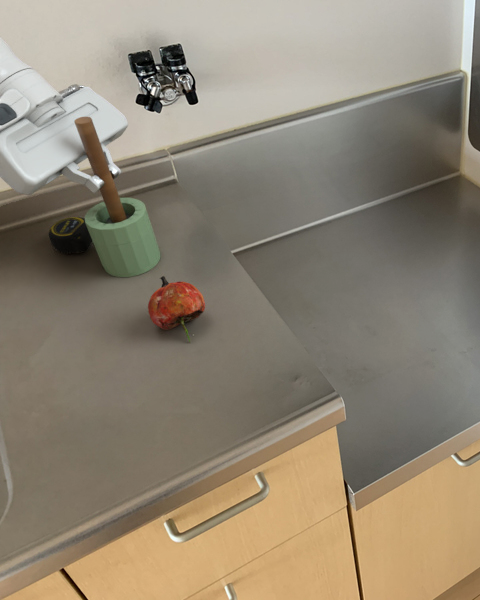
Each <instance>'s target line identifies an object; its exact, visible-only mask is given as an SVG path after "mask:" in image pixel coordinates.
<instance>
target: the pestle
mask: <svg viewBox="0 0 480 600" xmlns="http://www.w3.org/2000/svg"><path fill="white" fill-rule="evenodd" d="M74 122H75V125H76V128H77V131H78V133H79V136H80V139H81V141H82V144H83V147H84V149H85V152H86V155H87V157H88V158H87V160H88V162H89V166H90V168H91V170H92V171H91V172H92V173H93V175H95V174H96V175H97V176H99V178H100V179H102V180H103V181H104V183H105V185H104V186H103V187H102V188H101V189H100V190H99V192H100V194H101V198H102V199H103V202H104V203H105V205H106V208H107V211H108V213H109V216H110V217H109V218H108V219H107V224H114V223H118V222H122V221H124V220H126V219H128V218H130V217H131V215H129V214H127V213H125V212H124V209H123V206H122V203H121V200H120V198H121V197H120V195H119V192H118V189H117V186H116V182H115V179H114V180H113V178H112V175H111V172H110V169H109V166H108V163H107V161H106V158H105V155H104V152H103V149H102V146H101V144H100V141H99V138H98V135H97V132H96V129H95V127H94V124H93V121H92V118H91V117H80V118H77V119H76V120H75V121H74Z"/></svg>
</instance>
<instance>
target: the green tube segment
mask: <svg viewBox="0 0 480 600" xmlns="http://www.w3.org/2000/svg"><path fill="white" fill-rule="evenodd" d="M120 200H121V203H122V206H123V209H124V212H125V213H127V214H129V215H131V217H130V218H128V219H126V220H124V221H122V222H118V223H114V224H107V219H108V218H109V217H110V216H109V213H108V211H107V208H106V205H105V203H104V201H102V202H99V203H97V204H95V205H94V206H92V207H91V208H89V209H88V210H87V212H86V214H85V215H84V219H85V223H86V226H87V228H88V231H89V233H90V236H91V238H92V241H93V242H92V243H93V245H94V248H95V250H96V253H97V255H98V257H99V260H100V263H101V266H102V267H103V269H104V271H105V272H106V273H107V274H108V275H110V276H112V277H117V278H130V277H136V276H140V275H142V274H145V273H147V272H149V271H151V270H152V269H154V268H155V267H156V266H157V264H158V263H159V262H160V260H161V251H160V248H159V244H158V242H157V241H158V240H157V239H156V235H155V232H154V229H153V226H152V223H151V221H150V220H151V219H150V217H149V214H148V210H147V208H146V204H145V203H144V202H143V201H141V200H140V199H138V198H133V197H120Z"/></svg>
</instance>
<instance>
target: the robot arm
mask: <svg viewBox="0 0 480 600" xmlns="http://www.w3.org/2000/svg"><path fill="white" fill-rule="evenodd" d="M80 117H91V118H92V121H93V124H94V127H95V129H96V132H97V135H98V138H99V141H100V144H101V146H102V149H103V152H104V155H105V158H106V161H107V163H108V166H109V169H110V172H111V175H112V178H113V180H114V181H115V179H117V178H118V177H119V176H120V175H121V174H122V170H121V168H120V167H119V166H117V165H116V164H115V163H114V161H113V158H112V155H111V152H110V149H109V148H108V146H109V144H111V143H112V142H114V141H116V140H117V139H119V138H120V137H121V136H123V134H124V133H125V132H126V130H127V128H128V127H129V122H128V119H127V117H126V115H125V114H124V113H122V112H121V111H120V110H119V109H118V108H117V107H115V106H114V105H113V104H112V103H110V102H109V101H108V100H107V99H105V97H103V96H102V95H100V94H99V93H97V92H96V91H95V90H94V89H92V88H91V87H90V86H85V85H79V84H77V83H74V84H71V85H69V86H68V87H67V88H65V89H62V90H59V91H57V89H56V88H55V87H53V86H52V85H51V83H49V81H47V80H46V79H45V78H44V77H43V76H42V75H41V74H40V73H39V72H38V71H37V70H35V68H33V67H32V66H31V65H29V64H27V63H26V62H24V61H23V60H21V59H20V58H19V57H18V56H17V55H16V53H14V51H13V49H12V47H11V46H10V45H9V44H8V43H7V42H6V41H5V40H4V38H2V37H1V36H0V178H1V179H2V181H3V182H4V183H6V184H7V185H8V186H9V187H10V188H11V189H12V190H14V191H15V192H16V193H18V194H21V195H25V196H32V195H33V194H34V193H36V192H37V191H39V190H40V189H42V188H44V187H45V186H47V185H48V184H50V183H52V182H53V181H54V180H56V179H57V178H59V177H61V176H62V175H63V177H64V178H66V180H67V181H70V182H73V183H76V184H78V185H82V186H85V187H86V188H87V189H88V190H89V191H91V192H92V193H93V194H96V193H97V192H100V189H101V188H102V187H103V186H104V185H105V183H104V181H103V180H102V179H100V178H99V176H97V175H96V174H95V175H94V174H93V175H90V174H87V173H85V172H83V171H80V169H81V167H80V166H79V164H80V163H82V162H83V161H85V160H86V159H88V157H87V155H86V152H85V149H84V147H83V144H82V141H81V139H80V136H79V133H78V131H77V128H76V125H75V122H74V121H75V120H76V119H77V118H80Z"/></svg>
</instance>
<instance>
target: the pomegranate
mask: <svg viewBox="0 0 480 600" xmlns="http://www.w3.org/2000/svg"><path fill="white" fill-rule="evenodd" d="M159 279H160V281H161V282H162V284H161V287H159V288H157V289H156V290H155V291H154V292H153V293H152V294H151V296H150V298H149V300H148V304H147V309H148V311H147V312H148V314H149V318H150V319H151V322H152V323H153V324H154V325H155V326H157V327H159V328H161V329H162V330H166V331H169V330H173V329H174V328H176V327H177V326H179V325H180V324H181V326H182V329H183V330H184V332H185V335H186V337H187V340H188V341H189V343H191V337H190V335H189V330H188V329H187V327H186V326H185V323H186V322H191V321H193V320H195V319H198V318H200V316H201V315H202V314H203V313H204V311H205V309H206V302H205V298H204V296H203V294H202V292H201V291H200V290H199V288H197V287H196V286H195V285H194V284H191V283H190V282H186V281H181V280H180V281H176V282H168V281H167V279H166V276H164V275H163V276H160V277H159Z"/></svg>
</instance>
